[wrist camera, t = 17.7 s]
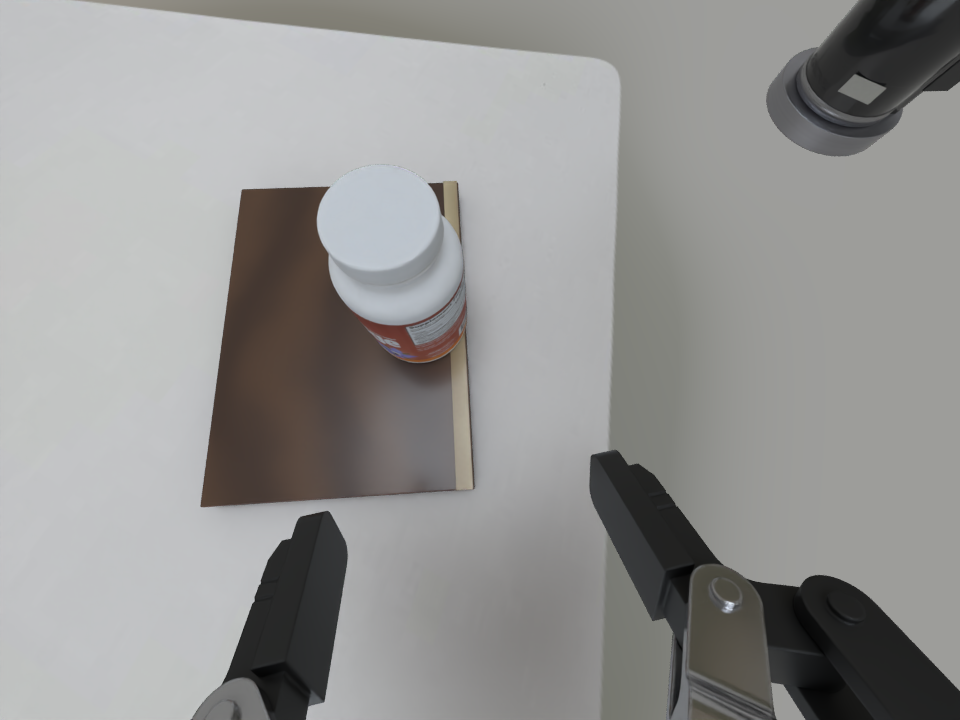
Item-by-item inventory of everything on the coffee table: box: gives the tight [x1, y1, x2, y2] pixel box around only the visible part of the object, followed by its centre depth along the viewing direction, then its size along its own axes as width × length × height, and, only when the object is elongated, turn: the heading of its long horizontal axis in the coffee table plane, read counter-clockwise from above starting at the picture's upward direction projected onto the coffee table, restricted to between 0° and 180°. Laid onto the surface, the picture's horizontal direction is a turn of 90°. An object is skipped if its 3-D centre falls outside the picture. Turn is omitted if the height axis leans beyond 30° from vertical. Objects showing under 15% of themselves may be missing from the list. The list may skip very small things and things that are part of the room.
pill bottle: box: [317, 164, 467, 363], centre depth 19 cm, size 6×6×11 cm
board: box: [201, 181, 475, 507], centre depth 25 cm, size 16×22×2 cm
